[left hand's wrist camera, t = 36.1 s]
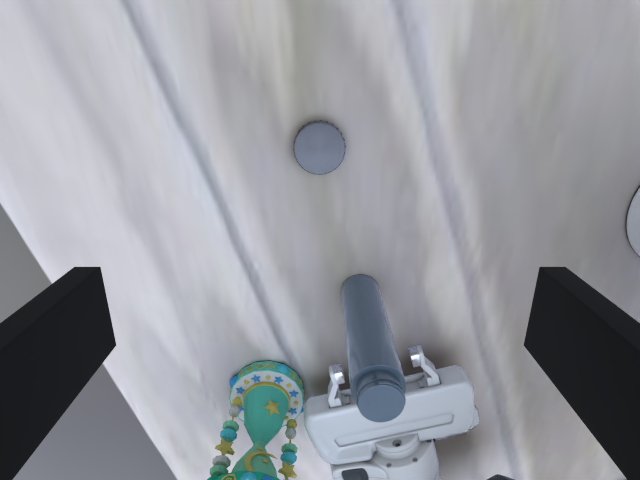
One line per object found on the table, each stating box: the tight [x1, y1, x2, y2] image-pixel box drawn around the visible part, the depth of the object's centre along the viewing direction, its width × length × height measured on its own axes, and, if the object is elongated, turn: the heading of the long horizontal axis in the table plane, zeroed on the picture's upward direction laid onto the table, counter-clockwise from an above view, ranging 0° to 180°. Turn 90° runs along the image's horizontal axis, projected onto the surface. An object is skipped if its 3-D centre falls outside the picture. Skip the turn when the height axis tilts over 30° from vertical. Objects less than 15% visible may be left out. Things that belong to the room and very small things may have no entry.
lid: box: [294, 120, 346, 174], centre depth 45 cm, size 6×6×2 cm
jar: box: [341, 274, 406, 422], centre depth 44 cm, size 5×5×20 cm
